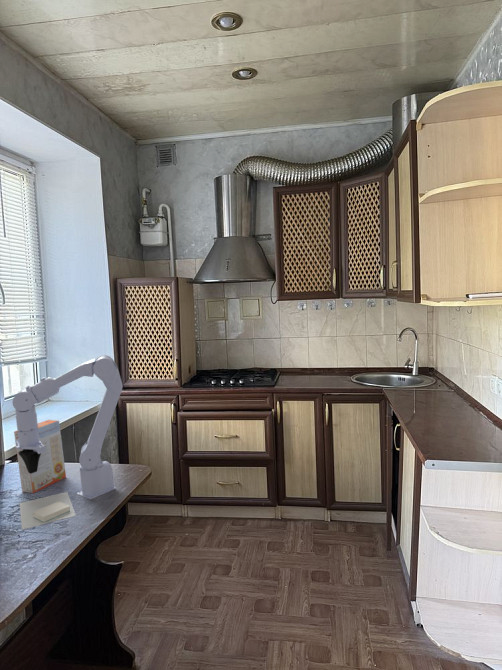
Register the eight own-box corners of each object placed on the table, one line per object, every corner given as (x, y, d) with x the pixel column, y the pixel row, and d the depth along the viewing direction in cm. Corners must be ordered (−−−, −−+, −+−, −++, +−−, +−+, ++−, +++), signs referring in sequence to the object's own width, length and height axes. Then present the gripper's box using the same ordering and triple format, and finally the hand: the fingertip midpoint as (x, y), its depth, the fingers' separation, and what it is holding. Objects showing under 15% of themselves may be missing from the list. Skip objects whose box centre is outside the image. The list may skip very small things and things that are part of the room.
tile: (58, 501, 144) (69, 505, 140) (59, 506, 144) (70, 511, 140) (32, 512, 138) (43, 517, 134) (33, 517, 138) (44, 522, 134)
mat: (19, 504, 148) (19, 503, 148) (67, 492, 155) (67, 491, 155) (22, 531, 131) (21, 529, 131) (75, 516, 137) (75, 515, 137)
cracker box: (54, 476, 171) (48, 419, 169) (66, 478, 168) (60, 419, 166) (20, 492, 158) (13, 430, 156) (33, 494, 155) (26, 431, 153)
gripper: (3, 429, 148) (8, 472, 149) (26, 436, 139) (31, 481, 140) (26, 423, 153) (30, 464, 154) (49, 429, 144) (54, 473, 145)
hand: (32, 472), depth 148 cm, fingers closed
